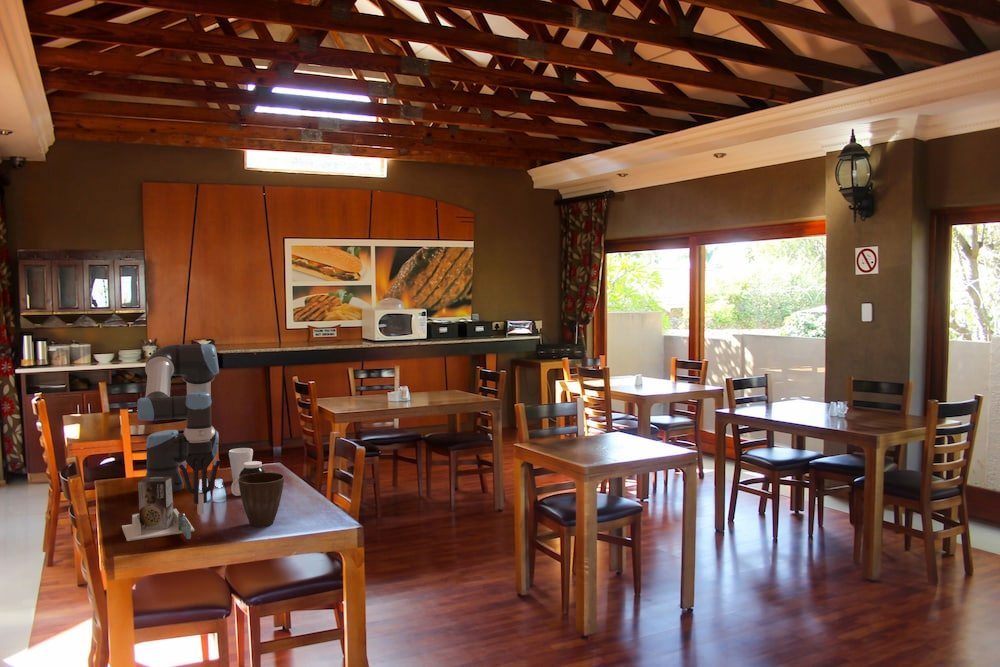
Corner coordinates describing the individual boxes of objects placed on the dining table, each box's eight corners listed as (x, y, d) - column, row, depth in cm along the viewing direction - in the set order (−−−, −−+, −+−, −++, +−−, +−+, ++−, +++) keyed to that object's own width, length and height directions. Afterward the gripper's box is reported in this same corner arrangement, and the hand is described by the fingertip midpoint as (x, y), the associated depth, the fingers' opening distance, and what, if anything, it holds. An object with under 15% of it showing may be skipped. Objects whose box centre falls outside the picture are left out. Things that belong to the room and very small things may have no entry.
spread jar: (268, 489, 306) (268, 461, 306) (259, 497, 295) (259, 467, 295) (239, 489, 307) (238, 460, 306) (228, 497, 295) (227, 467, 295)
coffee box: (174, 523, 259) (173, 476, 258) (167, 529, 252) (166, 480, 251) (146, 524, 258) (145, 476, 257) (138, 529, 252) (137, 481, 251)
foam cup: (235, 485, 314) (234, 453, 314) (225, 481, 321) (225, 450, 320) (257, 481, 321) (256, 450, 320) (247, 477, 327) (246, 447, 327)
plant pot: (292, 524, 260) (292, 477, 259) (251, 533, 250) (250, 485, 249) (272, 515, 271) (271, 470, 270) (231, 523, 261) (230, 477, 260)
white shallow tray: (121, 527, 256) (121, 515, 256) (185, 518, 267) (185, 506, 266) (127, 541, 242) (126, 528, 242) (194, 531, 252) (194, 518, 252)
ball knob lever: (178, 528, 252) (177, 513, 251) (184, 527, 253) (184, 512, 252) (185, 540, 239) (185, 525, 239) (192, 539, 240) (192, 524, 240)
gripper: (179, 444, 240) (180, 519, 241) (222, 440, 247) (224, 513, 247) (175, 440, 246) (177, 513, 247) (218, 436, 253) (219, 507, 254)
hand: (200, 513), depth 247 cm, fingers closed
